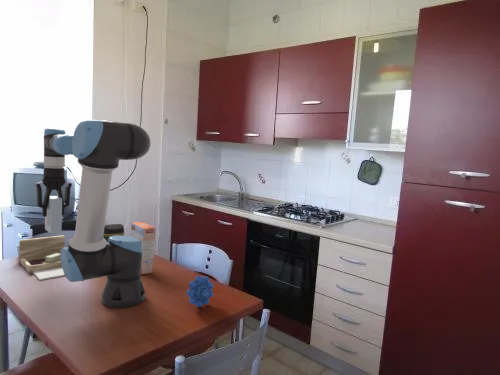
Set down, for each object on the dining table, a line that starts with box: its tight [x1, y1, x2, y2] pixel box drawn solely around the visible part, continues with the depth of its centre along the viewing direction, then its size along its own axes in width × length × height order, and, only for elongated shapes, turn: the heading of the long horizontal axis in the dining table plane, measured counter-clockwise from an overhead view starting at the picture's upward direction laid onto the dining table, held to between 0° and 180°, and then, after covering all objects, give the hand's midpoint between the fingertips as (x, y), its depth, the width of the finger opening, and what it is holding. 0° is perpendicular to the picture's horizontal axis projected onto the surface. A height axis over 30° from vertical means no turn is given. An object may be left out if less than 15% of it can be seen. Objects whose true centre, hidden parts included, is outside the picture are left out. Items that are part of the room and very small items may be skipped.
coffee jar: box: [103, 223, 125, 242], centre depth 167 cm, size 10×8×19 cm
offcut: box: [44, 253, 61, 263], centre depth 158 cm, size 3×6×2 cm, turn 162°
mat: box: [32, 267, 65, 281], centre depth 149 cm, size 10×12×1 cm
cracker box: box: [130, 221, 156, 276], centre depth 162 cm, size 14×6×21 cm, turn 39°
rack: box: [18, 235, 66, 274], centre depth 160 cm, size 18×18×10 cm
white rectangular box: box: [44, 195, 63, 234], centre depth 147 cm, size 8×4×14 cm, turn 44°
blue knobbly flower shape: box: [186, 275, 214, 308], centre depth 128 cm, size 12×7×12 cm, turn 134°
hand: (53, 223), depth 147 cm, fingers closed on white rectangular box, 4 cm apart
